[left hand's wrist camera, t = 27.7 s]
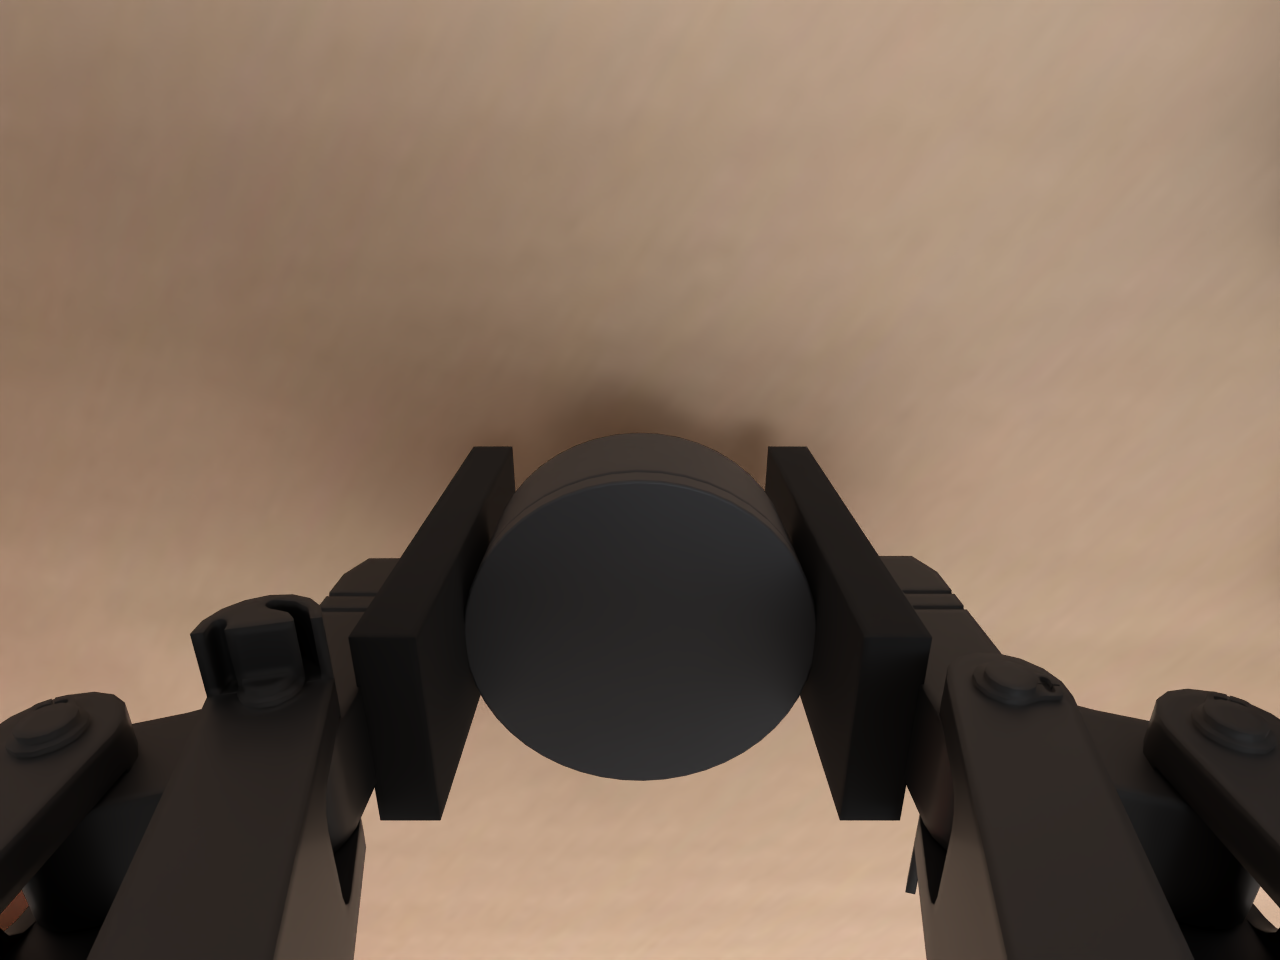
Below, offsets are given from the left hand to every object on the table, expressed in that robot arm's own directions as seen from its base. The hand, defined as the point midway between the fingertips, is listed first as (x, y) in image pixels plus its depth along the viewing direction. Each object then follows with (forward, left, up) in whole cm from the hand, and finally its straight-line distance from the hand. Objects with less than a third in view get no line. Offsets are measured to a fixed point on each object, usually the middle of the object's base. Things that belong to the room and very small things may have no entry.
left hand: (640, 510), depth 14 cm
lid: (0, 0, +4) cm, 4 cm away
